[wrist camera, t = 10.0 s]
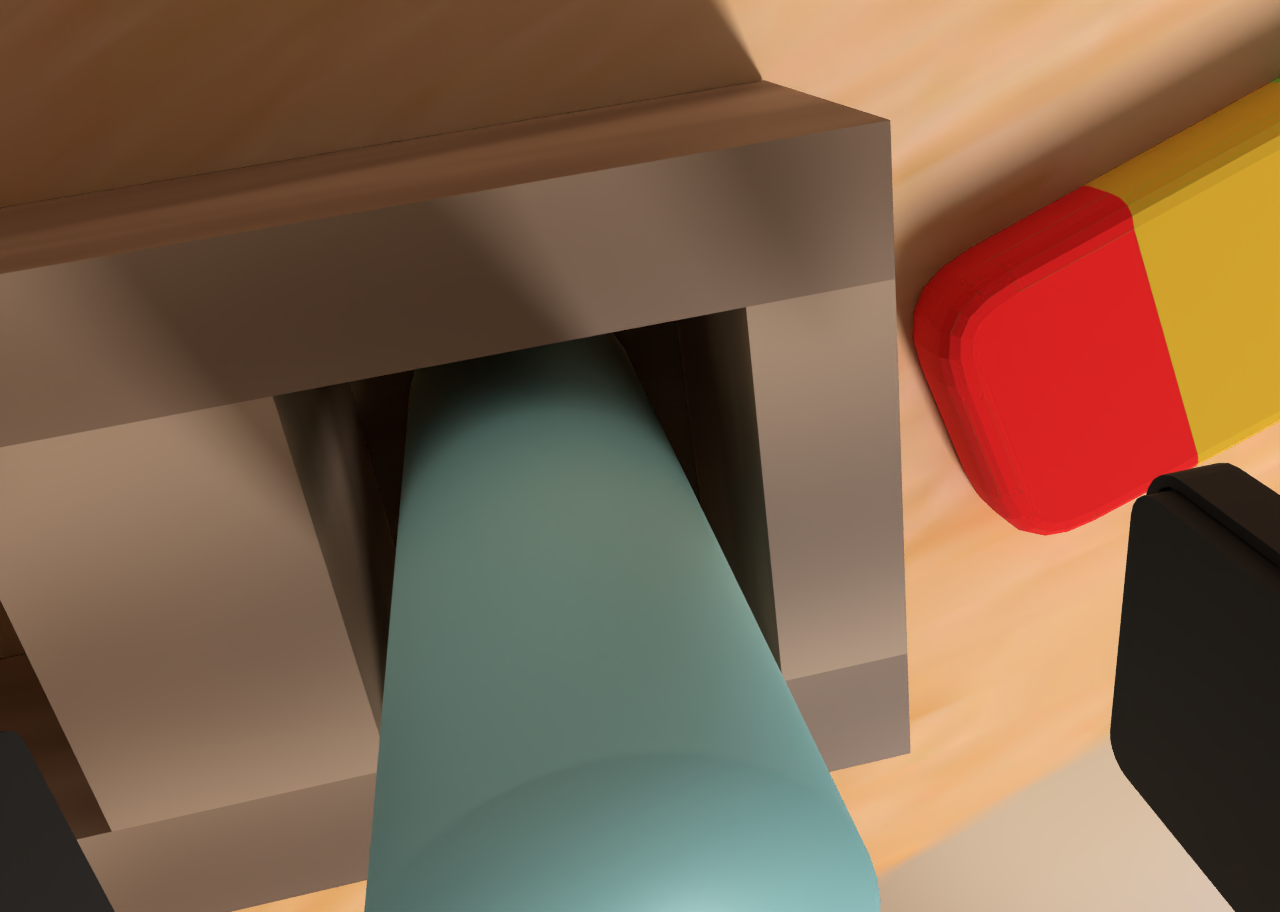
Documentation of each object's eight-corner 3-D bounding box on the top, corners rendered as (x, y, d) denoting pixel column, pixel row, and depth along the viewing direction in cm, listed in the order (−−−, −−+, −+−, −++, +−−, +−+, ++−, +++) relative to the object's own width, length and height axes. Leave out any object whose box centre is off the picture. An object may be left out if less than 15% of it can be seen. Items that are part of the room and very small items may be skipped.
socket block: (-514, 294, 14) (-955, 438, 10) (764, 80, 16) (889, 120, 11) (-195, 792, 18) (-405, 1060, 14) (804, 577, 20) (910, 753, 15)
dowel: (384, 319, 16) (291, 829, 7) (620, 276, 17) (870, 697, 7) (437, 527, 18) (427, 1185, 8) (651, 484, 18) (889, 1065, 9)
